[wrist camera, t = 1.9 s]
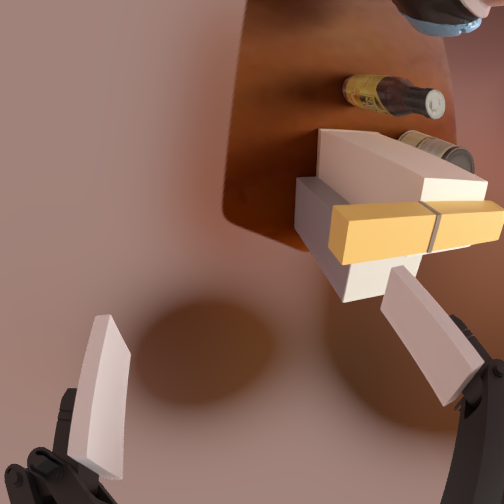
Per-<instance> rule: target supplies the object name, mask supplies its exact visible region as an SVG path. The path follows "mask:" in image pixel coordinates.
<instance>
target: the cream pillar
mask: <svg viewBox="0 0 504 504" xmlns="http://www.w3.org/2000/svg"><path fill="white" fill-rule="evenodd" d="M316 177H317V178H319V179H321V180H322V181H323V182H325V183H326V184H327V185H328V186H330V187H331V188H332V189H333V190H334V191H336V192H337V193H338V194H339V195H341V196H342V197H343V198H344V199H345V200H347V201H348V202H349V203H350V204H351V205H352V204H371V203H395V202H418V201H423V202H425V201H484V197H485V193H486V189H487V184H488V182H487V181H485V180H483V179H481V178H480V177H478V176H476V175H474V174H472V173H470V172H468V171H466V170H464V169H462V168H460V167H458V166H456V165H454V164H452V163H450V162H447V161H445V160H443V159H441V158H439V157H437V156H434V155H432V154H430V153H427V152H425V151H423V150H420V149H418V148H415V147H413V146H410V145H408V144H405V143H403V142H400V141H398V140H395V139H392V138H390V137H387V136H384V135H381V134H380V133H379V132H372V131H360V130H344V129H321V128H318V149H317V168H316ZM469 246H470V245H466V246H460V247H455V248H449V249H443V250H437V251H432V252H431V253H435V252H441V251H446V250H452V249H458V248H463V247H469ZM424 254H429V253H426V252H425V253H419V254H413V255H407V256H406V257H412V256H418V255H424Z"/></svg>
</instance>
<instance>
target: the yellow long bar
mask: <svg viewBox="0 0 504 504" xmlns="http://www.w3.org/2000/svg"><path fill="white" fill-rule="evenodd" d="M503 223H504V209H503V208H502V207H500V206H499V205H497V204H495V203H494V202H492V201H425V202H423V201H418V202H395V203H371V204H352V205H335V206H333V209H332V218H331V226H330V235H329V243H328V248H329V249H330V250H331V252H332V253H333V254H334V255H335V257H336V258H337V259H338V261H339V262H340V263H341V265H347V264H354V263H361V262H368V261H374V260H381V259H388V258H394V257H400V256H407V255H413V254H419V253H425V252H426V253H431V252H432V251H437V250H443V249H449V248H455V247H460V246H466V245H472V244H477V243H483V242H488V241H494V240H498V239H499V236H500V233H501V230H502V227H503Z"/></svg>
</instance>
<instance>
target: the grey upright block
mask: <svg viewBox="0 0 504 504" xmlns="http://www.w3.org/2000/svg"><path fill="white" fill-rule="evenodd" d="M335 205H351V204H350V203H349V202H348V201H347V200H345V199H344V198H343V197H342V196H341V195H339V194H338V193H337V192H336V191H334V190H333V189H332V188H331V187H330V186H328V185H327V184H326V183H325V182H323V181H322V180H321V179H319V178H317V177H296V199H295V219H294V228H295V230H296V231H297V233H298V234H299V236H300V237H301V239H302V240H303V242H304V243H305V245H306V246H307V248H308V249H309V251H310V252H311V254H312V255H313V257H314V258H315V260H316V261H317V263H318V264H319V266H320V267H321V269H322V270H323V272H324V274H325V275H326V277H327V278H328V280H329V281H330V283H331V284H332V286H333V287H334V289H335V290H336V292H337V294H338V295H339V297H340V299H341V300H342V302H349V301H354V300H359V299H364V298H369V297H374V296H378V295H383V294H385V290H386V286H387V282H388V279H389V274H390V270H391V268H392V267H397V266H401V265H404V267H405V268H406V269H407V270H408V271H409V272H410V273H411V274H412V275H413V276H414V277H416V274H417V270H418V267H419V264H420V261H421V258H422V255H418V256H412V257H406V256H400V257H394V258H388V259H381V260H374V261H368V262H361V263H354V264H347V265H341V263H340V262H339V261H338V259H337V258H336V257H335V255H334V254H333V253H332V252H331V250H330V249H329V248H328V243H329V235H330V226H331V218H332V209H333V206H335Z"/></svg>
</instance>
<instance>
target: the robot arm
mask: <svg viewBox="0 0 504 504" xmlns="http://www.w3.org/2000/svg"><path fill="white" fill-rule="evenodd" d="M392 2H393V3H394V4H395V5H396V7H397V9H398V11H399V12H400V13H401V14H402V15H403V16H405V17H406V19H407V20H408V21H409V22H410V24H411V25H412V26H413V27H414V28H415V29H416V30H417V31H419V32H421V33H423V34H426V35H430V36H437V37H449V36H456V35H460V33H462V32H464V33H468V32H471V31H473V30H475V29H476V28H477V27H478V26H479V25H480V23H481V18H485V17H487V16H488V13H489V10H490V8H491V6H504V0H392ZM381 311H382V312H383V314H384V315H385V317H386V318H387V320H388V321H389V322H390V324H391V325H392V326H393V328H394V330H395V331H396V333H397V334H398V336H399V337H400V338H401V340H402V342H403V343H404V345H405V346H406V347H407V349H408V351H409V352H410V354H411V355H412V357H413V358H414V360H415V361H416V363H417V364H418V366H419V368H420V369H421V371H422V372H423V374H424V375H425V377H426V378H427V380H428V382H429V383H430V385H431V387H432V388H433V390H434V392H435V393H436V395H437V397H438V398H439V400H440V402H441V403H442V405H443V406H445V405H447V404H448V403H450V402H452V401H454V400H455V399H456V398H457V397H458V396H459V395H460V393H461V392H462V393H463V395H464V396H463V398H462V399H461V400H460V401H459V402H458V403H457V405H456V406H455V409H454V410H457V409H458V407H459V406H460V405H461V408H460V409H459V411H460V417H459V425H458V431H457V437H456V443H455V448H454V453H453V458H452V462H451V467H450V471H449V475H448V479H447V482H446V486H445V490H444V493H443V496H442V500H441V503H440V504H504V361H502V360H500V359H494V360H493V359H492V358H491V357H490V356H489V354H488V353H487V352H486V350H485V349H484V348H483V347H482V345H481V344H480V343H479V342H478V340H477V339H476V338H475V337H474V336H473V334H472V333H471V332H470V330H468V328H467V327H466V326H465V324H464V323H463V322H462V321H461V320H460V319H459V318H457V317H455V316H454V315H450V316H448V315H447V314H446V312H445V311H444V310H443V309H442V308H441V307H440V305H439V304H438V303H437V302H436V301H435V300H434V298H433V297H432V296H431V295H430V294H429V293H428V292H427V291H426V289H425V288H424V287H423V286H422V285H421V284H420V283H419V282H418V281H417V280H416V278H415V277H414V276H413V275H412V274H411V273H410V272H409V271H408V270H407V269H406V268H405V267H404V265H401V266H397V267H392V268H391V270H390V274H389V279H388V282H387V286H386V290H385V294H384V298H383V301H382V305H381ZM130 356H131V354H130V352H129V350H128V348H127V346H126V344H125V342H124V340H123V339H122V337H121V335H120V333H119V331H118V329H117V327H116V325H115V323H114V321H113V319H112V316H111V315H101V316H96V317H95V320H94V324H93V327H92V331H91V335H90V338H89V342H88V345H87V349H86V353H85V357H84V361H83V366H82V370H81V375H80V379H79V384H78V388H77V389H76V388H68V389H67V391H66V392H65V394H64V396H63V397H62V400H61V404H60V412H59V414H58V421H57V426H56V431H55V438H54V444H53V451H52V452H51V451H50V450H48V449H46V448H44V447H38V448H35V449H33V451H31V453H30V454H29V456H28V459H27V466H28V468H26V469H25V468H23V467H22V466H20V465H18V464H11V465H10V466H8V468H7V469H6V471H5V484H6V487H7V491H8V495H9V499H10V502H11V504H117V503H116V501H115V500H114V499H113V498H112V496H111V495H110V494H109V493H108V492H107V490H106V489H105V488H104V486H103V485H102V484H101V483H100V482H99V479H98V478H99V475H100V476H102V477H103V478H105V479H114V480H123V441H124V420H125V406H126V393H127V383H128V373H129V364H130Z"/></svg>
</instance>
